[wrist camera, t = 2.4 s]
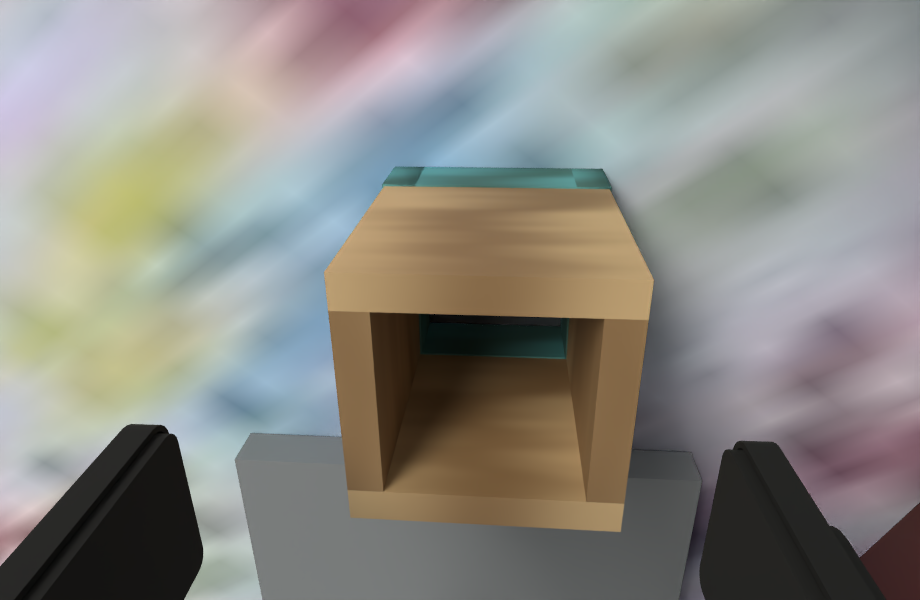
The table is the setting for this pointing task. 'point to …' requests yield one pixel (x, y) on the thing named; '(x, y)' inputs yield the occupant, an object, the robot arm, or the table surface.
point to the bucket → (897, 559)
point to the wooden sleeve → (489, 349)
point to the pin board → (454, 537)
